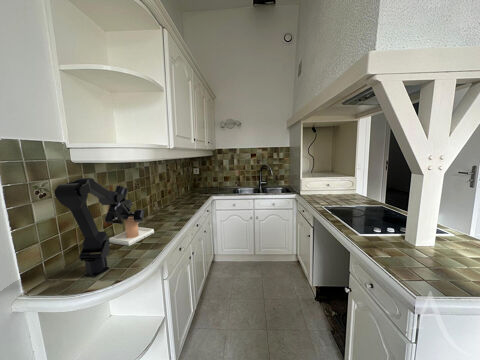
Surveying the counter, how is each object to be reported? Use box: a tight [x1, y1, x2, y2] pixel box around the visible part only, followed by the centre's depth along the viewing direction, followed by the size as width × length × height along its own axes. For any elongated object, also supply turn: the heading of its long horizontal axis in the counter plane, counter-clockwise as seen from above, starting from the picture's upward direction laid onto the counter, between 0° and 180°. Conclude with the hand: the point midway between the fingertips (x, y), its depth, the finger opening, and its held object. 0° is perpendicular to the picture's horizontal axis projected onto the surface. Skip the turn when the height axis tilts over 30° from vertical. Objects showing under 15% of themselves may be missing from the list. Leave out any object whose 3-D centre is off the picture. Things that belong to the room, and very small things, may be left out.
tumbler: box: [124, 217, 139, 238], centre depth 118 cm, size 7×7×13 cm
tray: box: [108, 226, 155, 247], centre depth 119 cm, size 18×14×2 cm
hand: (131, 222), depth 117 cm, fingers open, 9 cm apart
